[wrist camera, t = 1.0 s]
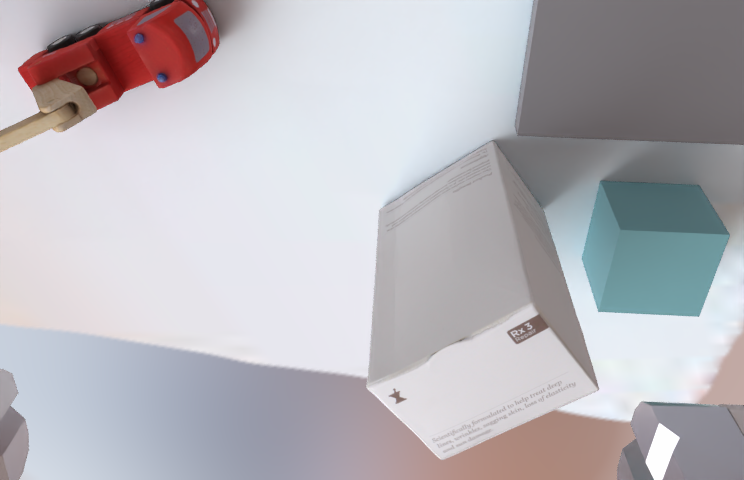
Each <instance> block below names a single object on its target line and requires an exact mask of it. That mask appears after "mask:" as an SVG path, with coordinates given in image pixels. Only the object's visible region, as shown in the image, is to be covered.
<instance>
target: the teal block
mask: <svg viewBox="0 0 744 480" xmlns="http://www.w3.org/2000/svg"><path fill="white" fill-rule="evenodd" d="M729 236H730V234H729V232H728V231H727V229H726V228H725V226H724V224H723V223H722V221H721V220H720V218H719V216H718V215H717V213H716V212H715V210H714V208H713V207H712V205H711V204H710V202H709V200H708V199H707V197H706V196H705V194H704V192H703V191H702V189H701V188H700V186H699V185H686V184H663V183H639V182H616V181H600V184H599V189H598V193H597V197H596V201H595V205H594V210H593V214H592V218H591V222H590V226H589V231H588V235H587V239H586V243H585V247H584V252H583V256H582V261H583V264H584V267H585V270H586V274H587V277H588V280H589V283H590V286H591V290H592V293H593V296H594V299H595V302H596V305H597V309H598V312H615V313H636V314H656V315H677V316H698V317H699V315H700V313H701V310H702V307H703V305H704V302H705V300H706V297H707V294H708V292H709V289H710V286H711V284H712V281H713V279H714V276H715V273H716V271H717V268H718V265H719V263H720V260H721V257H722V255H723V252H724V250H725V247H726V244H727V242H728V239H729Z"/></svg>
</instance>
